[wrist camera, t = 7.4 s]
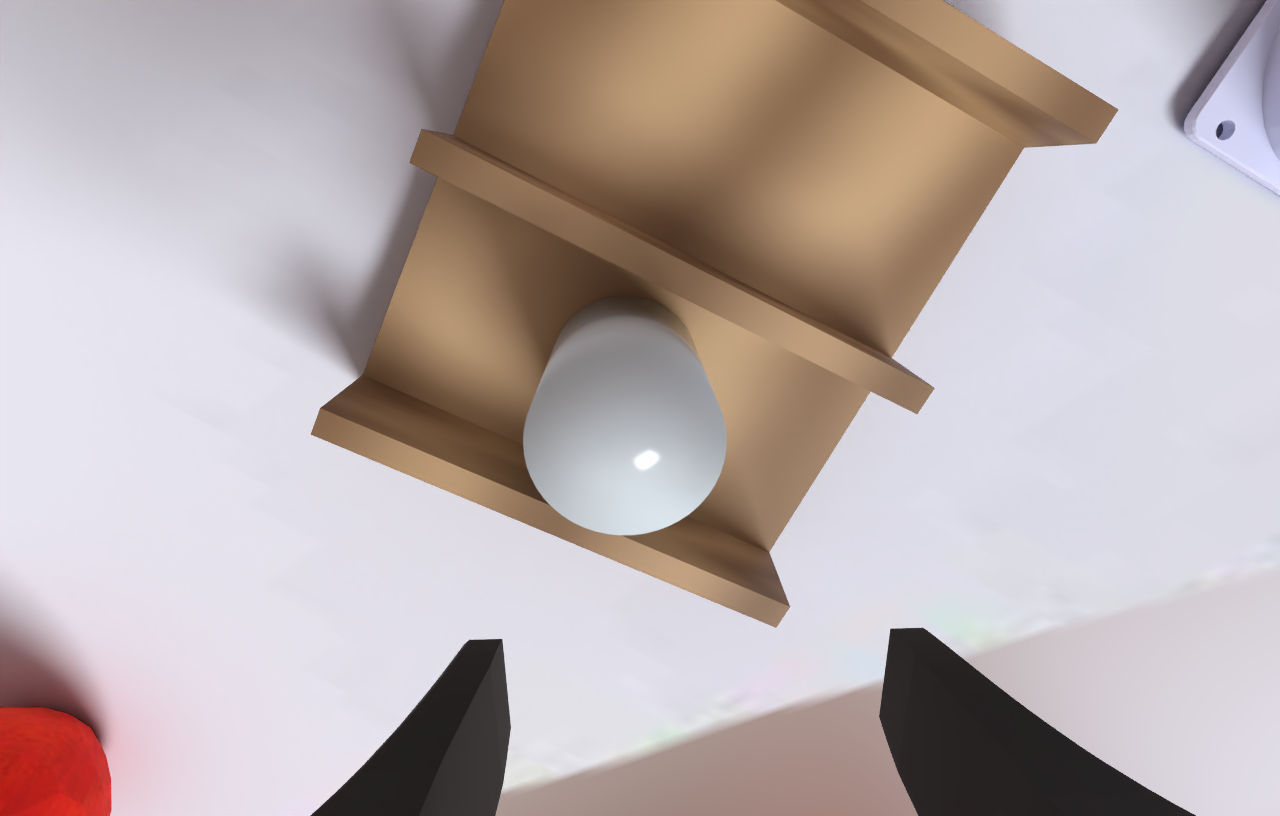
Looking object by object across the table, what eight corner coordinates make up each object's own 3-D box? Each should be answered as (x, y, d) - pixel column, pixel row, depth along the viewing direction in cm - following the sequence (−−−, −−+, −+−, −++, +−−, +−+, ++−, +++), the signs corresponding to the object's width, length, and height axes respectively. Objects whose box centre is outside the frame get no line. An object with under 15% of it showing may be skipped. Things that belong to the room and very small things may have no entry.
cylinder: (704, 299, 20) (736, 351, 14) (692, 440, 21) (716, 538, 16) (552, 291, 20) (522, 341, 14) (550, 433, 21) (523, 531, 15)
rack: (1021, 121, 19) (1118, 109, 15) (751, 555, 24) (776, 628, 20) (571, -149, 17) (556, -241, 13) (366, 388, 21) (310, 434, 18)
